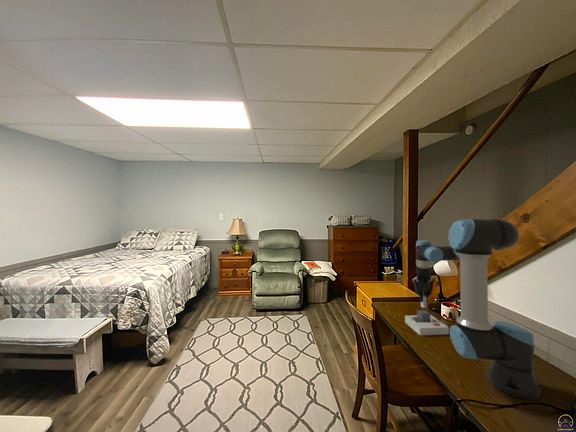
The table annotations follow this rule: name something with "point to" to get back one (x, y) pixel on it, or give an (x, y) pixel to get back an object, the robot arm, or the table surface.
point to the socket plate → (427, 326)
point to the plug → (423, 316)
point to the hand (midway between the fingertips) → (423, 307)
